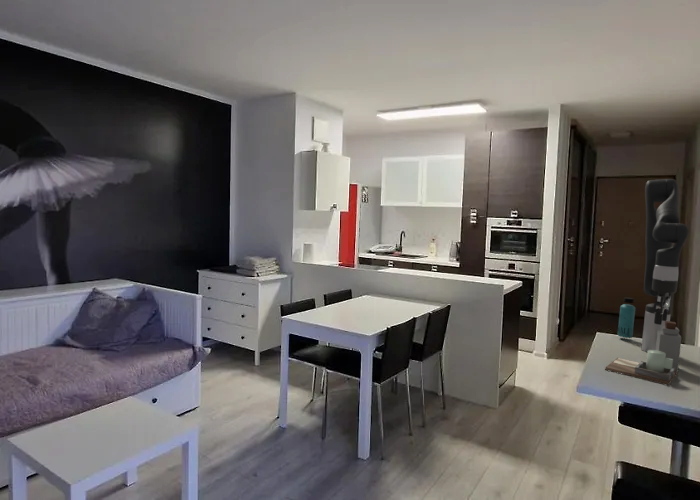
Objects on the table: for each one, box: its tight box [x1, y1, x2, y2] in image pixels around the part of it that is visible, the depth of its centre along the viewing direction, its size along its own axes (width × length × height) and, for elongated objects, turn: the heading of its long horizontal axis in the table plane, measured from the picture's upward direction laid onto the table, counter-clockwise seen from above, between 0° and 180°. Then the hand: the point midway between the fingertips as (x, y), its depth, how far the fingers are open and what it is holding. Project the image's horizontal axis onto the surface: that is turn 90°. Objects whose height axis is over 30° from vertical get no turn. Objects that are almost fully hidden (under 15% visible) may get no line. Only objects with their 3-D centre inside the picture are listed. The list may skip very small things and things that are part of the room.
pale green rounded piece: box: [645, 350, 673, 373], centre depth 172 cm, size 6×8×8 cm
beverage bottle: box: [617, 297, 636, 339], centre depth 223 cm, size 6×7×20 cm
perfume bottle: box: [656, 320, 682, 373], centre depth 184 cm, size 7×7×18 cm
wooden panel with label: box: [605, 357, 678, 386], centre depth 178 cm, size 17×20×3 cm
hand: (660, 322), depth 172 cm, fingers open, 8 cm apart
